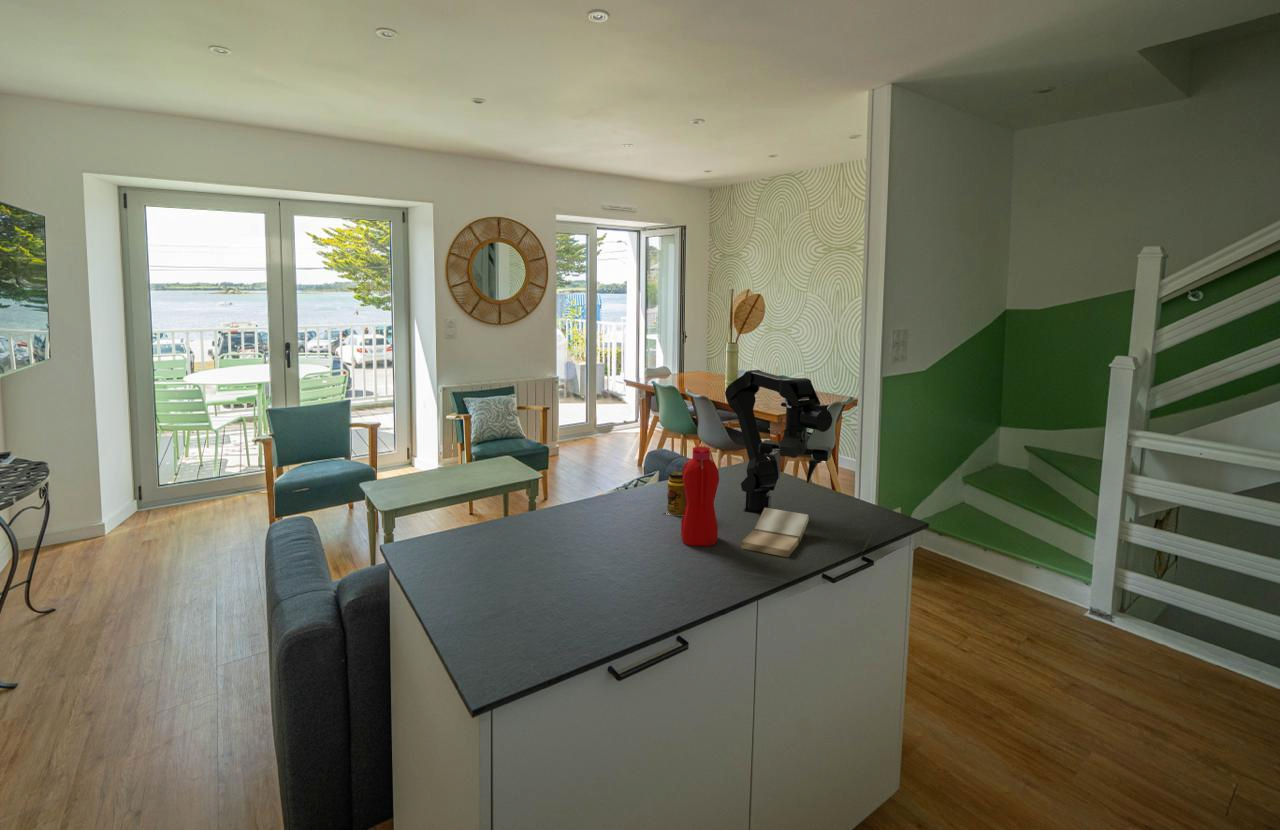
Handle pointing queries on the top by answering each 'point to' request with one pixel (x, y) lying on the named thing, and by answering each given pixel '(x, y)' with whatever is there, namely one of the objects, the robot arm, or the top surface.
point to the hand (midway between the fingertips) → (792, 480)
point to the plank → (782, 522)
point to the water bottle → (700, 499)
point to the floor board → (770, 543)
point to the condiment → (676, 494)
